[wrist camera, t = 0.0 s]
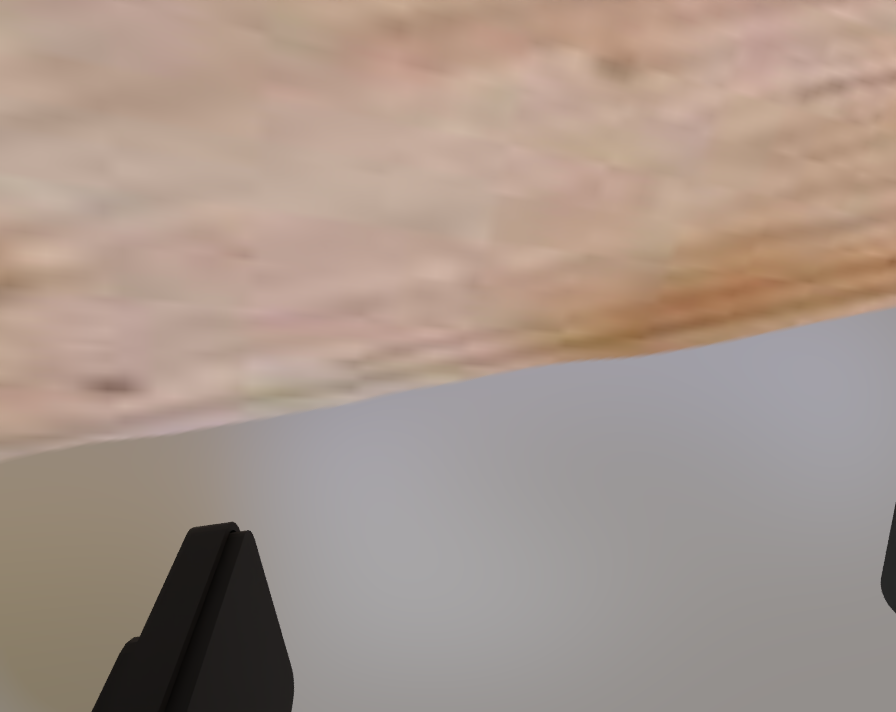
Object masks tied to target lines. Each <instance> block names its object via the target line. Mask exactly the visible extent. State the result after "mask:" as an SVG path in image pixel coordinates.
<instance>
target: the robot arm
mask: <svg viewBox="0 0 896 712" xmlns="http://www.w3.org/2000/svg"><path fill="white" fill-rule="evenodd" d="M881 589H882V593H883V595H884V598H885V600H886V601H887V603H888V605H889V606H890V607H891V608H892V610H893V611H894V612H895V613H896V504H895V509H894V515H893V520H892V525H891V530H890V535H889V540H888V546H887V551H886V556H885V561H884V566H883V571H882V577H881ZM293 696H294V678H293V672H292V668H291V664H290V660H289V657H288V653H287V650H286V646H285V643H284V639H283V636H282V633H281V629H280V625H279V622H278V619H277V615H276V612H275V608H274V605H273V601H272V598H271V594H270V591H269V587H268V584H267V580H266V577H265V573H264V570H263V566H262V563H261V560H260V556H259V553H258V549H257V546H256V543H255V539H254V536H253V534H252V532H251V531H249V530H247V531H240V530H239V527H238V526H237V525H236V523H234V522H228V523H221V524H214V525H207V526H200V527H194V528H192V529H190V530H189V531H188V533H187V535H186V537H185V539H184V541H183V543H182V546H181V548H180V550H179V552H178V554H177V557H176V559H175V561H174V563H173V565H172V567H171V570H170V572H169V574H168V576H167V578H166V580H165V583H164V585H163V587H162V589H161V591H160V594H159V596H158V598H157V600H156V602H155V604H154V607H153V609H152V611H151V613H150V616H149V618H148V620H147V622H146V624H145V626H144V629H143V631H142V633H141V635H140V637H134V638H133V639H131V640H130V641H128V642H127V643H126V644H125V646H124V648H123V649H122V651H121V653H120V654H119V656H118V658H117V660H116V662H115V664H114V666H113V669H112V670H111V673H110V675H109V677H108V679H107V681H106V683H105V685H104V687H103V690H102V691H101V693H100V696H99V698H98V700H97V702H96V704H95V706H94V708H93V710H92V712H291V710H292V704H293Z"/></svg>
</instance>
